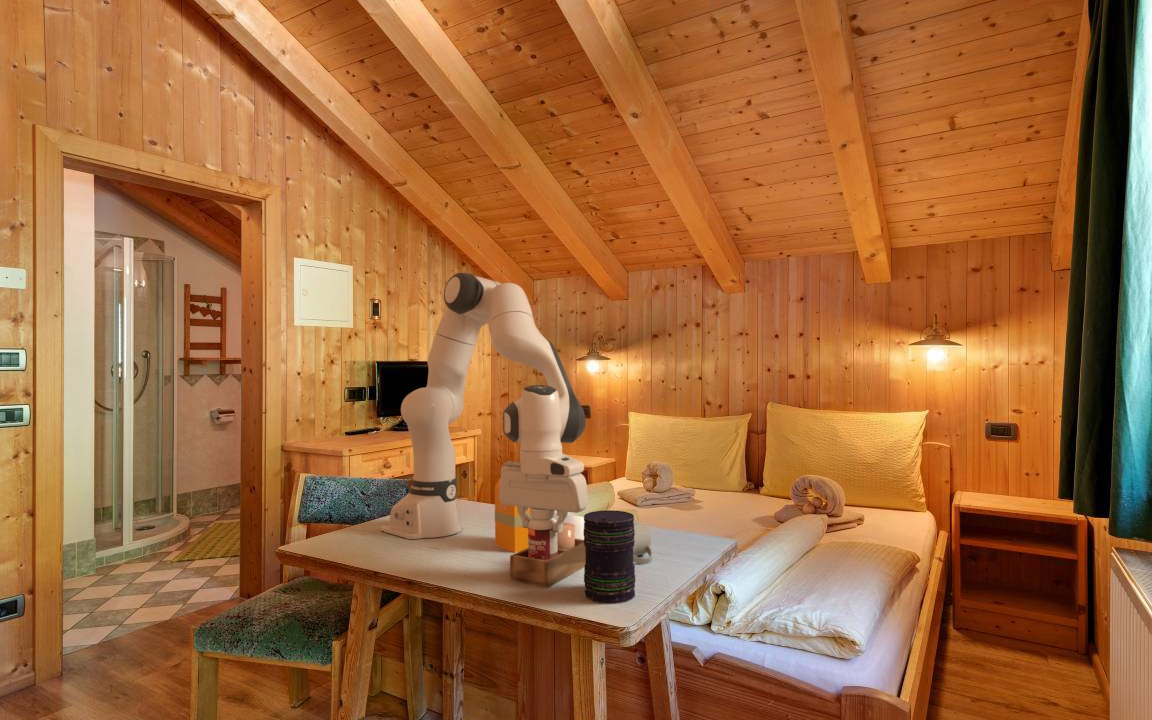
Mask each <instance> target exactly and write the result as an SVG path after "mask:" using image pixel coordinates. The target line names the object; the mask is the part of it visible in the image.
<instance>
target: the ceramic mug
mask: <svg viewBox="0 0 1152 720" xmlns="http://www.w3.org/2000/svg"><path fill="white" fill-rule="evenodd" d="M633 523H634V530H635V536H634V540H635V542H634V546H633V563H635V564H638V565H645V564H644V563H646V564H649V563H651V561H652V559H653V551H652V548H651V543H652V541H651V536H650V533H649V530H648V528H647V527H646V525H645V524H644V523H643V522H641V521H639V520H634V521H633ZM645 554H647V555H648V557H639V556H643V555H645ZM648 562H649V563H648Z"/></svg>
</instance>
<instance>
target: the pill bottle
mask: <svg viewBox="0 0 1152 720" xmlns="http://www.w3.org/2000/svg"><path fill="white" fill-rule="evenodd" d="M530 517H531V518H532V519H531V520H530V521H529V522H528V558H534V559H540V560H546V561H547V560H549V559H551V558H553V557H555V556H557V555H558V542H557V532H553V523H555V522H557V520H556V519H555V518H554V517H556V511H555V510H546V509H537V508H530Z"/></svg>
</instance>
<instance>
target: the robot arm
mask: <svg viewBox="0 0 1152 720" xmlns="http://www.w3.org/2000/svg"><path fill="white" fill-rule="evenodd" d="M443 299H444V303H445V306H446V308H445V310H444V312H443V314H442V316H441V318H440V321H439V323H438V325H437V327H436V331H435V334H434V336H433V337H434V338H433V341H432V344H431V348H430V350H429V353H428V356H427V367H428V374H427V384H426V387H420V388H417V389H415V390H413V391H412V392H410V393H408V394H406V396H405V397H404V398H403V400H402V403H401V405H400V413H401V417H402V419H403V421H404V422H405V423H406V426H407V428H408V433H409V437H410V440H411V447H412V455H413V456H412V457H413V479H412V480H411V481H410V480H409V481H407V482H405V483H406V484H407V485H405V486H406V487H409V489H408V493H407V494H405V496H404V497H402V498H401V499H400V500H398V502H397V503H395V504H394V505H393V506H392V508H391V510H390V515H389V516H390V517H389V522H387V523H385V524H383V525H382V526H381V527H380V531H381V532H383V531H384V532H383V533H388V534H391V535H395V536H397V537H401V538H405V539H407V540H416V539H425V538H439V537H440V538H441V537H447V536H452V535H454V534H458V533H460V532H462V531H463V527H462V523H461V519H460V515H459V508H458V499H457V493H458V478H457V476H456V448H455V445H454V444H453V442H452V438H451V435H450V429H449V425H450V424H453V423H454V422H455V421H456V420H458V419H459V418H460V417H461V415H462V414H463V412H464V409H465V402H464V401H465V400H464V395H465V389H466V388H465V387H466V382H467V381H466V380H467V374H468V370H469V368H470V364H471V361H472V357H473V355H474V351H475V347H476V345H477V342H478V337H479V333H480V331H481V329H482V327H484V326H485V325H486V324H488V331H489V336H490V340H491V344H492V346H493V348H494V349H495V351H496V352H497V353H498V354H499V355H501V356H502V357H504V358H505V359H506V360H507V359H508V360H509V361H513V362H516V363H520V364H522V365H526V366H528V367H531V368H532V369H535V370H536V371H538V372H539V373H540V374H541V375H542V376H543V377H544V379H545V381H546V384H547V385H544V384H543V385H542V384H532V385H528V386H526V387H524V388H522V389H521V392H520V393H521V394H520V398H519V399H517V400H516V401H512V402H510V403H509V404H508V405H507V407H506V408H505V409H503V413H502V416H503V417H502V420H503V421H502V423H503V427H502V428H503V434H504V435H505V437H507V439H509V441H511V442H512V443H515V444H516V443H517V444H520V448H519V455H520V456H519V457H520V458H519V460H520V461H512V460H508V461H505V462H504V463H502V466H501V467H500V477H501V480H500V488H499V500H500V502H501V504H503V505H511V506H517V512H518V513H519V515H520V517H521V519H522V527H523V528H528V522H529V521H530V520H531V518H529V516H528V514H527V511H526V510H528V507H529V508H537V509H546V510H555V512H556V516H557V517H558V518H557V520H556V521H557V522H555V523H553V532H559V533H560V532H562V531H563V523H565V520H566V518H567V517H568V515H569V513H576V514H579V513H581V512H583V511H585V510H586V509H587V507H588V503H589V495H588V494H589V493H588V485H587V479H586V477H585V476H584V475H583V474H582V473H583V472H584V470H585V464H584V462H582V461H581V460H579V459H576V458H574V457H571V456H569V455H567V454H565V453H563V443H565V444H572V443H574V442H575V441H577V440H578V439H579V438H580V437H581V436H582V434H583V432H584V431H585V430H586V425H587V422H586V420H587V419H586V414H585V410H584V408H583V406H582V405H581V402H580V401H579V400H578V397H577V396H576V394H575V392H574V389H573V387H572V385H571V383H570V379H569V377H568V374H567V373H566V371H565V368H564V366H563V363H562V361H561V358H560V356H559V354H558V352H557V350H556V348H555V346H554V344H553V342H551V341H550V340H549V339H546V338H545V336H543V335H542V333H541V332H540V331H539V329H538V327H537V325H536V323H535V320H534V315H533V311H532V308H531V305H530V302H529V299H528V296H527V294H526V293H525V290H524V289H523V288H522V287H521V286H520V285H519V284H517V283H513V282H503V283H501V282H499V281H496V280H493V279H488V278H484V277H481V276H478V275H477V276H476V275H474V274H472V273H469V272H456V273H455V274H453V275H452V276H451V277H450V278H449V279H448V281H447V282H446V284H445V288H444V290H443Z"/></svg>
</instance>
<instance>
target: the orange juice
mask: <svg viewBox="0 0 1152 720" xmlns="http://www.w3.org/2000/svg"><path fill="white" fill-rule="evenodd" d="M500 480H501V476H500V477H499V479H498V481H497V483H496V484H495V486H494V524H495V525H494V527H495V528H494V531H495V532H494V535H495V536H494V538H495V539H494V541H495V542H494V543H495V546H496V545H497V546H496V547H499V548H501V547H502V548H501V549H503V550H506V549H507V551H508V552H511V551H512V552H511V553H513V554H515V552H516V553H518V552H520V551H522V550H524V549H527V548H528V528H523V527H522V519H521V517H520V515H519V513H518V512H517V506H511V505H503V504H501V502H500V500H499V488H500ZM526 511H527V514H528V516H529V518H531V517H530V508H529V507H528V510H526ZM531 519H532V518H531Z"/></svg>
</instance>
